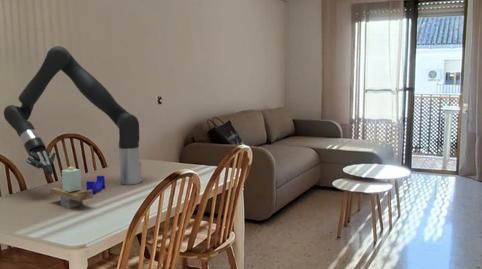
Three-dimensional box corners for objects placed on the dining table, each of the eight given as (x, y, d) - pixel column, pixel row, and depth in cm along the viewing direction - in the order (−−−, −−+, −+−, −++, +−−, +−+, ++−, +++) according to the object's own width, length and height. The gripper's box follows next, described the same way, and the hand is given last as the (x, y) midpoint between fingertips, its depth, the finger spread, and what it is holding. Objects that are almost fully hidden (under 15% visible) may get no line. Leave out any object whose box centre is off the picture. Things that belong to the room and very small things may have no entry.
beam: (64, 199, 194) (63, 182, 193) (93, 207, 182) (92, 189, 181) (51, 202, 189) (50, 185, 188) (79, 211, 177) (78, 193, 176)
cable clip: (95, 188, 212) (95, 175, 212) (105, 188, 212) (104, 175, 211) (83, 195, 201) (82, 181, 200) (93, 195, 200) (92, 182, 199)
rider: (74, 187, 188) (72, 165, 186) (81, 189, 185) (80, 166, 183) (63, 190, 184) (61, 167, 182) (70, 192, 181) (68, 169, 179)
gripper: (20, 138, 191) (38, 171, 186) (49, 134, 202) (67, 165, 196) (14, 150, 195) (32, 182, 190) (44, 145, 206) (61, 176, 200)
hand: (50, 173), depth 193 cm, fingers closed
